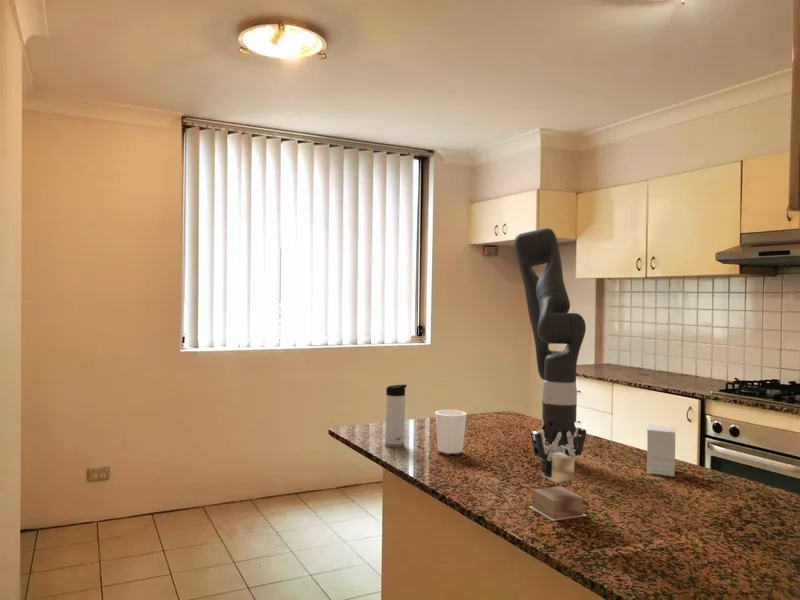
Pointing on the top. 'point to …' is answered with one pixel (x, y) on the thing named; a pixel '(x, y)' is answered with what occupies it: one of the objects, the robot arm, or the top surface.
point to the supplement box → (661, 450)
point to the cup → (450, 431)
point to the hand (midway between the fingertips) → (557, 474)
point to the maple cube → (562, 468)
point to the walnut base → (557, 502)
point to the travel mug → (395, 416)
